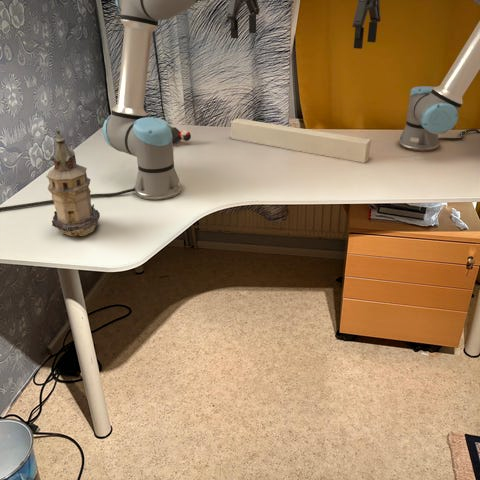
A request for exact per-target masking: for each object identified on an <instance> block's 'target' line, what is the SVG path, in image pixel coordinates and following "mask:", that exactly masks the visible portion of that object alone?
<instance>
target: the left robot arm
mask: <svg viewBox="0 0 480 480" xmlns="http://www.w3.org/2000/svg"><path fill="white" fill-rule="evenodd" d="M114 1H115V6H116V7H117V10H118V11H119V13H120V22H121V23H122V25H123V26H124V31H123V41H122V51H121V62H120V70H119V80H118V92H117V101H116V104H115V106H113V107H112V108H111V112H110V113H111V114H110V115H108V116H107V118H106V119H105V120H104V122H103V125H102V126H103V127H102V135H103V138H104V140H105V143H107V145H108V146H110V147H111V148H113V149H114V150H116V151H118V152H121V153H125V154H127V155H130V156H133V157H136V161H137V175H136V179H135V184H134V187H133V188H129V189H125V190H121V191H117V192H109V193H106V192H105V193H90V197H91V198H99V197H101V198H102V197H116V196H121V195H123V194H128V193H132V192H134V193H135V195H136V196H137V197H138V198H141V199H143V200H148V201H161V200H168V199H171V198H174V197H176V196H178V195H179V194H180V193H181V192H182V182H181V180H180V177H179V176H178V173H177V171H176V169H175V161H174V160H175V157H174V145H173V141H172V133H171V127H172V126H171V125H170V124H169V122H167V121H166V120H164V119H162V118H159V117H151V116H150V117H149V116H148V113H147V112H146V110H145V108H144V106H145V100H146V99H145V98H146V90H147V80H148V73H149V63H150V57H151V56H150V55H151V46H152V38H153V32H155V31H156V30H157V29H158V28H159V21H166V20H170V19H173V18H175V17H176V16H178V15H180V14H182V13H184V12H185V11H187V10H188V9H190V8H191V7H193V6H194V5H195V4H197V3H198V2H199V0H114ZM244 3H245V4H246V7H247V9H248V11H249V14H248V29H249V30H248V33H249V34H257V15H259V14H260V6H259V1H258V0H229V2H228V7H227V10H226V11H227V12H226V19H227V20H229V23H230V38H231V39H239V19H238V16H239V13H240V10H241V7H242V4H244ZM170 126H171V127H170ZM47 204H54V201H53V200H52V199H49V200H42V201H35V202H29V203H22V204H15V205H8V206H0V211H6V210H13V209H19V208H20V209H21V208H27V207H28V208H29V207H34V206H41V205H47Z"/></svg>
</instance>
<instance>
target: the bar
mask: <svg viewBox="0 0 480 480" xmlns="http://www.w3.org/2000/svg"><path fill="white" fill-rule="evenodd" d="M230 139H232V140H237V141H243V142H247V143H254V144H258V145H264V146H269V147H274V148H275V147H276V148H281V149H286V150H292V151H296V152H304V153H308V154H315V155H320V156H324V157H331V158H335V159H340V160H341V159H342V160H346V161H351V162H357V163H363V164H365V163H366V162H367V161H368V160H369V159H370V154H371V144H372V139H368V138H362V137H357V136H350V135H343V134H337V133H332V132H326V131H318V130H312V129H307V128H300V127H295V126H288V125H282V124H281V125H280V124H276V123H269V122H265V121H264V122H263V121H257V120H251V119H245V118H235V119H233V120H231V121H230Z"/></svg>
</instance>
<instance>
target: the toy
mask: <svg viewBox="0 0 480 480" xmlns="http://www.w3.org/2000/svg"><path fill="white" fill-rule="evenodd" d="M170 127H171V133H172V141H173V146H175V145H178V144H179V143H180V142H181V141H184V142H188V141H190V140H191V136H192V134H191V132H190V131H189V130H181V131H180V130H179V129H178V128H177V127H176V126H173V127H172V126H171V125H170Z"/></svg>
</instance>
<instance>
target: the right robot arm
mask: <svg viewBox="0 0 480 480" xmlns="http://www.w3.org/2000/svg"><path fill="white" fill-rule="evenodd" d="M472 1H473V2H474V3H475V4H477V5H478V6H480V0H472ZM368 14H369V19H370V21H369V22H368V32H367V41H366V42H367V43H376V42H377V41H376V40H377V31H378V23H380V22H381V0H358V1H357V5H356V10H355V14H354V17H353V23H352V28H354V29H355V30H354V39H353V49H357V50H358V49H359V50H362V49H363V44H364V33H365V27H364V25H365V21H366V18H367V15H368ZM479 71H480V20H479V21H478V23H477V24H476V26H475V27H474V29H473V31H472V33H471V34H470V36H469V37H468V39H467V40H466V43H465V44H464V45H463V47H462V49H461V50H460V52H459V54H458V55H457V57H456V59H455V60H454V62H453V63H452V65H451V67H450V69H449V70H448V72H447V74H446V75H445V76H444V78H443V80H442V82H441V83H440V85H438V86H427V85H423V86H414V87H412V88H411V89H410V94H409V101H408V108H407V113H406V114H407V115H406V121H405V122H406V123H405V126H404V128H403V130H402V132H401V135H400V137H399V139H398V146H399V147H400V148H402V149H404V150H407V151H411V152H420V153H428V152H433V151H436V150H438V149H439V147H440V141H458V140H462V139H463V138H464V135H463V134H466V133H469V132H476V133H478V134H480V130H479V129H477V128H470V129H466V130H463V131H461V132H460V133H459V137H461V135H463V136H462V137H461V138H458V137H439V135H443V134H446V133H448V132H450V131H451V130H452V129H454V128H455V126H456V125H457V122H458V121H459V120H458V118H459V110H460V109H461V107H462V106H463V104H464V103H463V96H464V94H465V93H466V91H467V90H468V88H469V87H470V85H471V84H472V82H473V80H474V79H475V77H476V75H477V74H478V72H479ZM465 131H466V132H465ZM461 133H462V134H461Z"/></svg>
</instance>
